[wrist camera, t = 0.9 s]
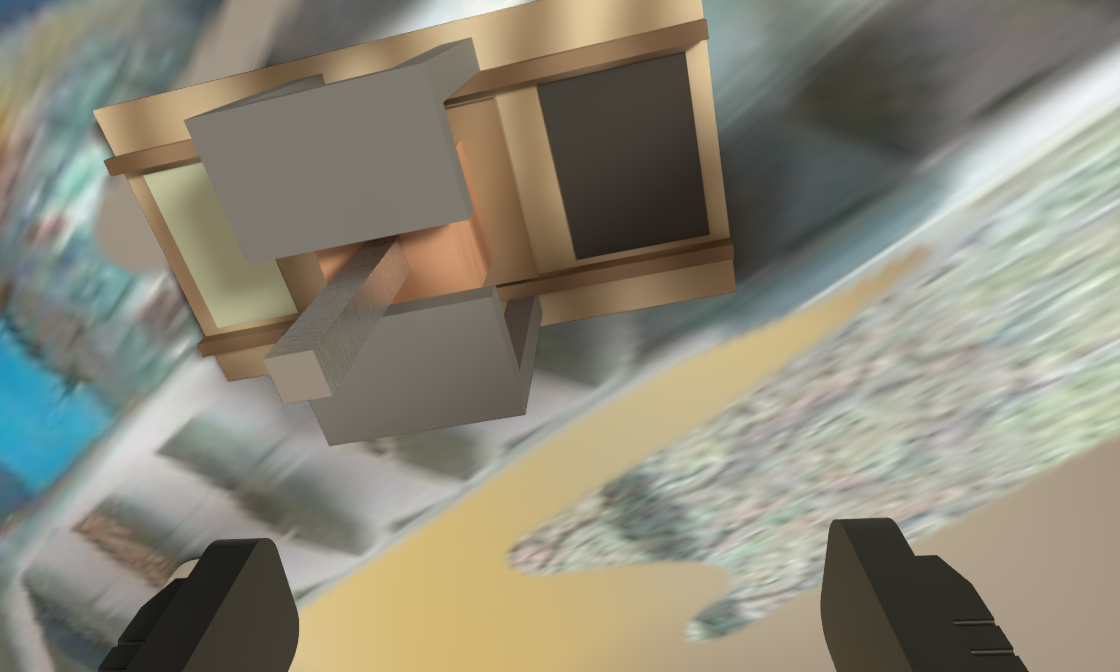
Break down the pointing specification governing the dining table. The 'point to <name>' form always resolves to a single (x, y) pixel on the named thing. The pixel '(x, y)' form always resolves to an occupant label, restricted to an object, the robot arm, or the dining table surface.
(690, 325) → the dining table surface
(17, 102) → the dining table surface
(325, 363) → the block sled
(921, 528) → the dining table surface
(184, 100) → the tunnel track
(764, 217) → the dining table surface
